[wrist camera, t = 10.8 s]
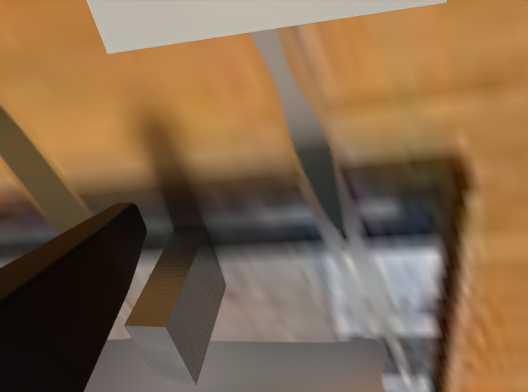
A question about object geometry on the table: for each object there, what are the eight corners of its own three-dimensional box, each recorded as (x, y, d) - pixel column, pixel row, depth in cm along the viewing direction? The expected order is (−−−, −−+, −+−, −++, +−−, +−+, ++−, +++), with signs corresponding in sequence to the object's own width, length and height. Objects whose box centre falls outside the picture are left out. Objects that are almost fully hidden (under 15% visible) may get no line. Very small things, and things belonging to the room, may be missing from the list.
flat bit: (206, 229, 27) (165, 327, 20) (226, 286, 30) (196, 385, 24) (173, 230, 27) (124, 325, 21) (196, 286, 31) (159, 383, 24)
